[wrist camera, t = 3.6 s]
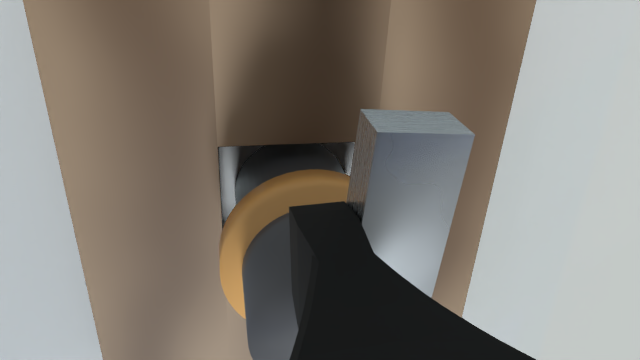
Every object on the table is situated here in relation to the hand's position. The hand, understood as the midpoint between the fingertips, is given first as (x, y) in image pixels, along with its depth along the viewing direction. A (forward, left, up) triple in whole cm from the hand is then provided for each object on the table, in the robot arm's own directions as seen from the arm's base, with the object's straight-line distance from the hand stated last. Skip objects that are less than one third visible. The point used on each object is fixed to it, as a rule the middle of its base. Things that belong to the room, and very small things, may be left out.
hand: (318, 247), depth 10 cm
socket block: (+1, -3, -8) cm, 9 cm away
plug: (+1, -3, -8) cm, 9 cm away
